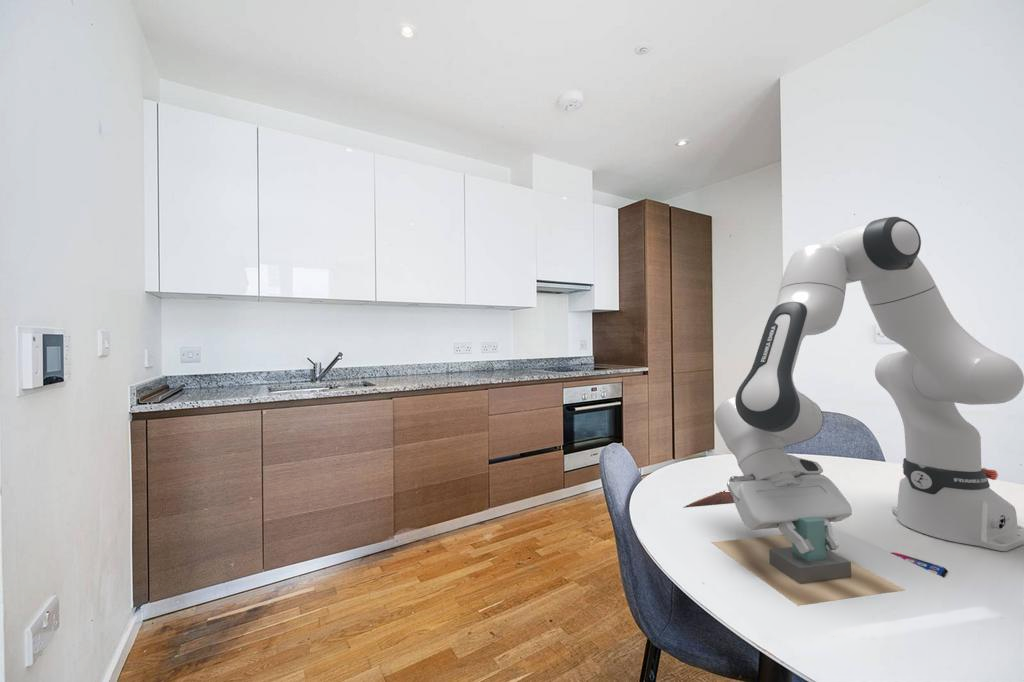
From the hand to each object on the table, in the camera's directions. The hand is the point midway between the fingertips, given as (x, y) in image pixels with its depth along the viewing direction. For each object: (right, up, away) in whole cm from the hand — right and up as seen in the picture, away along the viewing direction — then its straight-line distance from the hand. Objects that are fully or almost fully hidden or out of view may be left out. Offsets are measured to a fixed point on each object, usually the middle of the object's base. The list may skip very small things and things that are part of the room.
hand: (820, 551), depth 65 cm
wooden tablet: (+1, -7, +33) cm, 34 cm away
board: (-1, -6, +4) cm, 7 cm away
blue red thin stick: (+18, -6, +3) cm, 20 cm away
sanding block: (0, -4, +2) cm, 5 cm away
